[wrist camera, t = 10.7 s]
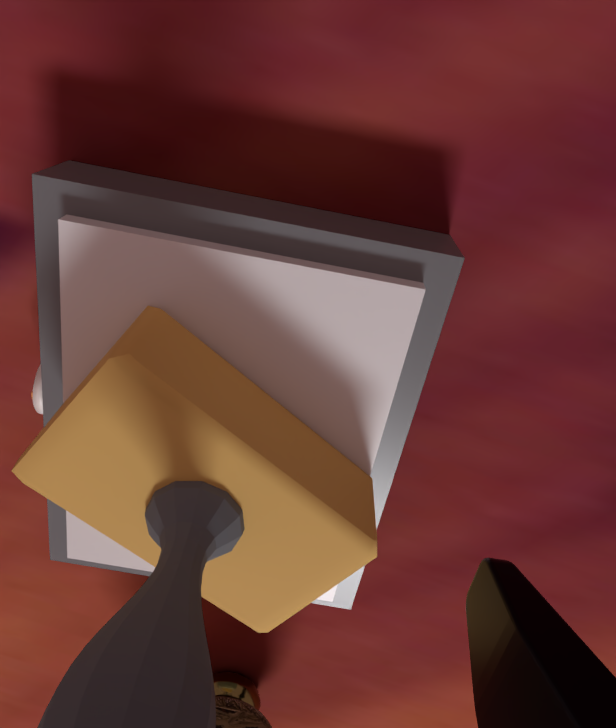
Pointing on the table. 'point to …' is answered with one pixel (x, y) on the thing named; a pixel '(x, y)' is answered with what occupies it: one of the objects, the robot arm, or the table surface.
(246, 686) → the cup
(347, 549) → the rubber stamp
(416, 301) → the dial scale
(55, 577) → the table surface
